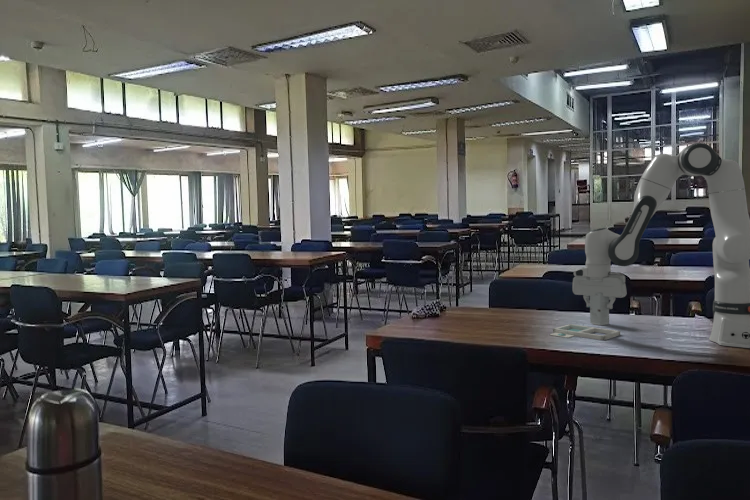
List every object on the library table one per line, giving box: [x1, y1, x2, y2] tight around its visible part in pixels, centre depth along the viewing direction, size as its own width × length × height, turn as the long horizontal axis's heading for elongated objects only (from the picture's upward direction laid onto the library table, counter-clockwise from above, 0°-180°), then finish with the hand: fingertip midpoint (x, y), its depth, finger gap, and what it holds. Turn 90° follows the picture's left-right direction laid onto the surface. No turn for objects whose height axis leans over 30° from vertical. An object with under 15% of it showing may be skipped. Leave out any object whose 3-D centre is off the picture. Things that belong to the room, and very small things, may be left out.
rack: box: [549, 323, 621, 341], centre depth 227 cm, size 21×17×2 cm
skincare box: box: [589, 293, 610, 326], centre depth 223 cm, size 6×4×12 cm
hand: (599, 307), depth 223 cm, fingers closed on skincare box, 7 cm apart
